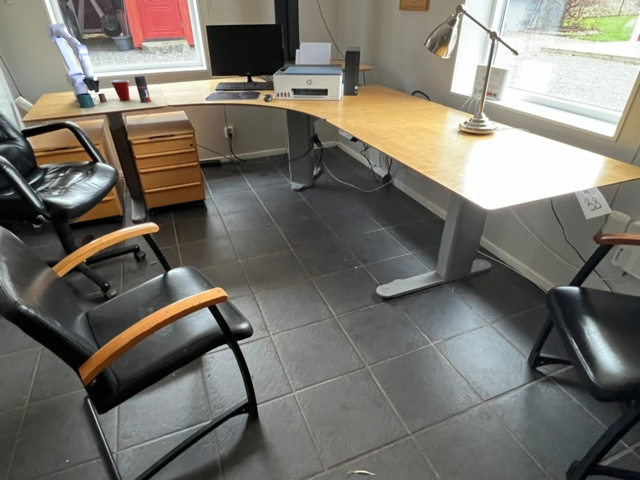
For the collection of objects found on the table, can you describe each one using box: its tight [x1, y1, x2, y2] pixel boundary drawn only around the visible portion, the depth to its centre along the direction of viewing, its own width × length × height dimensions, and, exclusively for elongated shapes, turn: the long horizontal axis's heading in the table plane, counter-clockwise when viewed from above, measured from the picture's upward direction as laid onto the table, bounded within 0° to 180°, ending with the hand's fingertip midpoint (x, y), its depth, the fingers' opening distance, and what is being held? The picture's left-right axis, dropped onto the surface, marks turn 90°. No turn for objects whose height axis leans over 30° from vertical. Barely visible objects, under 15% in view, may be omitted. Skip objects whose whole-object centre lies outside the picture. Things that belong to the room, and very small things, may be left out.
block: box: [97, 91, 107, 103], centre depth 246 cm, size 4×4×6 cm
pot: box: [76, 92, 97, 109], centre depth 236 cm, size 10×8×7 cm
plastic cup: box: [110, 79, 130, 102], centre depth 247 cm, size 11×11×12 cm
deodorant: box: [134, 75, 152, 104], centre depth 241 cm, size 6×6×15 cm
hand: (94, 91), depth 238 cm, fingers open, 7 cm apart
